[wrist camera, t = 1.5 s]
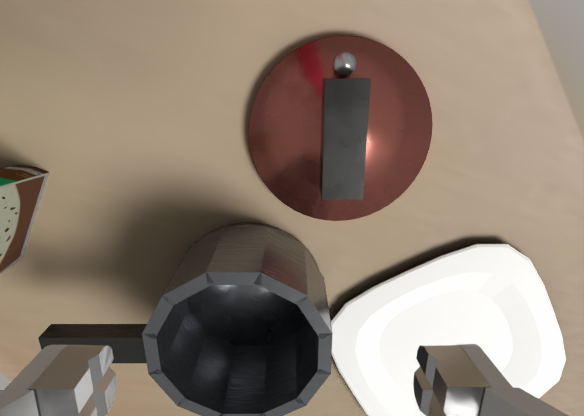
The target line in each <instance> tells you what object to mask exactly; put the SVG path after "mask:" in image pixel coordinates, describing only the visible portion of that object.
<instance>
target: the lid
mask: <svg viewBox="0 0 584 416" xmlns="http://www.w3.org/2000/svg"><path fill="white" fill-rule="evenodd" d="M431 136H432V112H431V107H430V102H429V98H428V96H427V93H426V90H425V87H424V85H423V84H422V82H421V80H420V78H419V76H418V75H417V73H416V72H415V71H414V69H413V68H412V67H411V66H410V65H409V63H408V62H407V61H406V60H405V59H404V58H403V57H401V56H400V55H399V54H397V53H396V52H395V51H394V50H392V49H390V48H388V47H386V46H385V45H383V44H381V43H378V42H375V41H373V40H370V39H366V38H361V37H354V36H335V37H328V38H324V39H319V40H316V41H314V42H311V43H308V44H306V45H304V46H302V47H300V48H298V49H296V50H295V51H293V52H292V53H290V54H289V55H288V56H286V57H285V58H284V59H283V60H282V61H281V62H279V63H278V64H277V65H276V66H275V67H274V69H273V70H272V71H271V72H270V74H269V75H268V76H267V77H266V79H265V81H264V82H263V84H262V85H261V87H260V89H259V91H258V94H257V96H256V98H255V101H254V104H253V107H252V111H251V116H250V123H249V141H250V149H251V153H252V157H253V161H254V163H255V166H256V169H257V171H258V173H259V175H260V176H261V178H262V180H263V182H264V183H265V184H266V186H267V187H268V189H269V190H270V191H271V192H272V193H273V194H274V195H275V196H276V197H277V198H278V199H279V200H280V201H282V202H283V203H284V204H285V205H287V206H289V207H290V208H292V209H293V210H295V211H297V212H299V213H302V214H304V215H307V216H310V217H313V218H317V219H322V220H332V221H341V220H351V219H356V218H360V217H364V216H367V215H370V214H372V213H374V212H377V211H379V210H381V209H382V208H384V207H386V206H387V205H389V204H390V203H392V202H393V201H394V200H396V199H397V198H398V197H399V196H400V195H401V194H402V193H403V192H404V191H405V190H407V188H408V187H409V186H410V185H411V183H412V182H413V181H414V180H415V178H416V176H417V175H418V173H419V172H420V170H421V168H422V166H423V164H424V161H425V159H426V156H427V153H428V150H429V147H430V141H431Z"/></svg>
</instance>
